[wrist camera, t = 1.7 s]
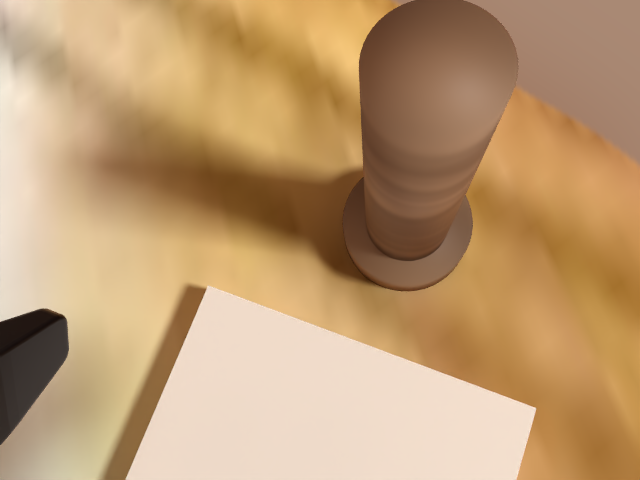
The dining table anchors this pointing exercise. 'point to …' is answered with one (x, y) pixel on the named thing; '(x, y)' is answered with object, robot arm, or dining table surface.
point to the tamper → (424, 137)
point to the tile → (318, 409)
